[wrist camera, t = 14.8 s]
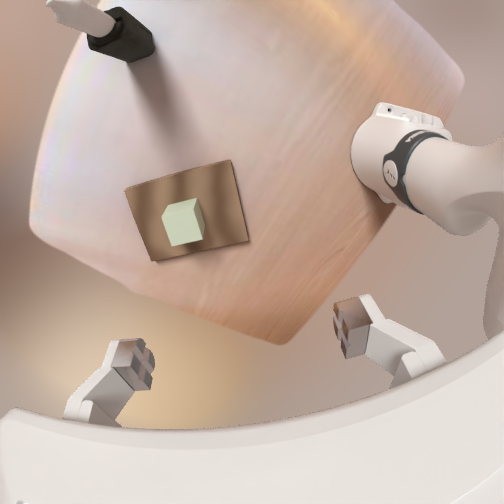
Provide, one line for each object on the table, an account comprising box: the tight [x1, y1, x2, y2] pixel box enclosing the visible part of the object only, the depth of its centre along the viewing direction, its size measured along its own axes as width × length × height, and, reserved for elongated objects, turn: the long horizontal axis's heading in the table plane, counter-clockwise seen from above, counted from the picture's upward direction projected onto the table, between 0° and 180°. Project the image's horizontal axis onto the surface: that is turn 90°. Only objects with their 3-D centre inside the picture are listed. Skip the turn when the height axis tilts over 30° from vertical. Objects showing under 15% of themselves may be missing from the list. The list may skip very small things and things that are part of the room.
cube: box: [161, 198, 205, 246], centre depth 41 cm, size 5×5×5 cm
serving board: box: [124, 160, 249, 261], centre depth 44 cm, size 18×14×2 cm
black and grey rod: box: [46, 0, 154, 63], centre depth 19 cm, size 5×5×25 cm
